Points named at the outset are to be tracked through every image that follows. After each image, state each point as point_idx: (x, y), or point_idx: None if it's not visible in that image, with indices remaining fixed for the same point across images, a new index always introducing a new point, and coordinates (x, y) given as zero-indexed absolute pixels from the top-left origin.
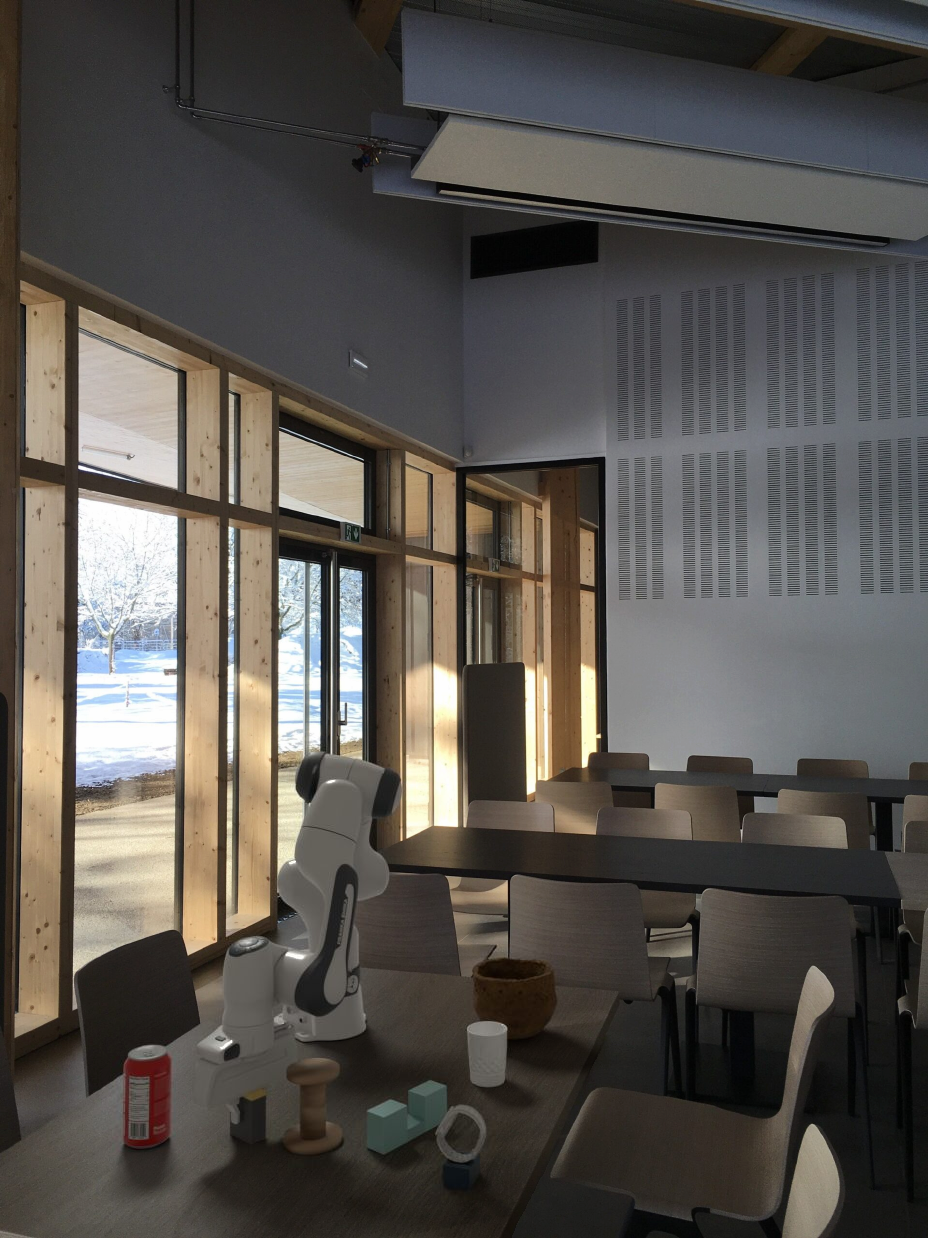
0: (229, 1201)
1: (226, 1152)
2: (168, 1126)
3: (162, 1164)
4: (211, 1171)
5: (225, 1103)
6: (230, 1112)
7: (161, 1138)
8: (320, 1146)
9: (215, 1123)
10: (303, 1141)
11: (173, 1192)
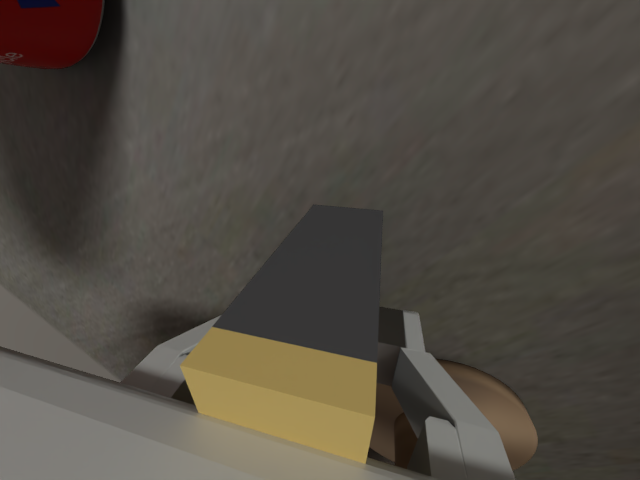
0: None
1: (242, 277)
2: (25, 37)
3: (84, 183)
4: (178, 305)
5: (159, 347)
6: (283, 244)
7: (43, 66)
8: (386, 457)
9: (342, 47)
10: (384, 426)
11: (97, 296)
